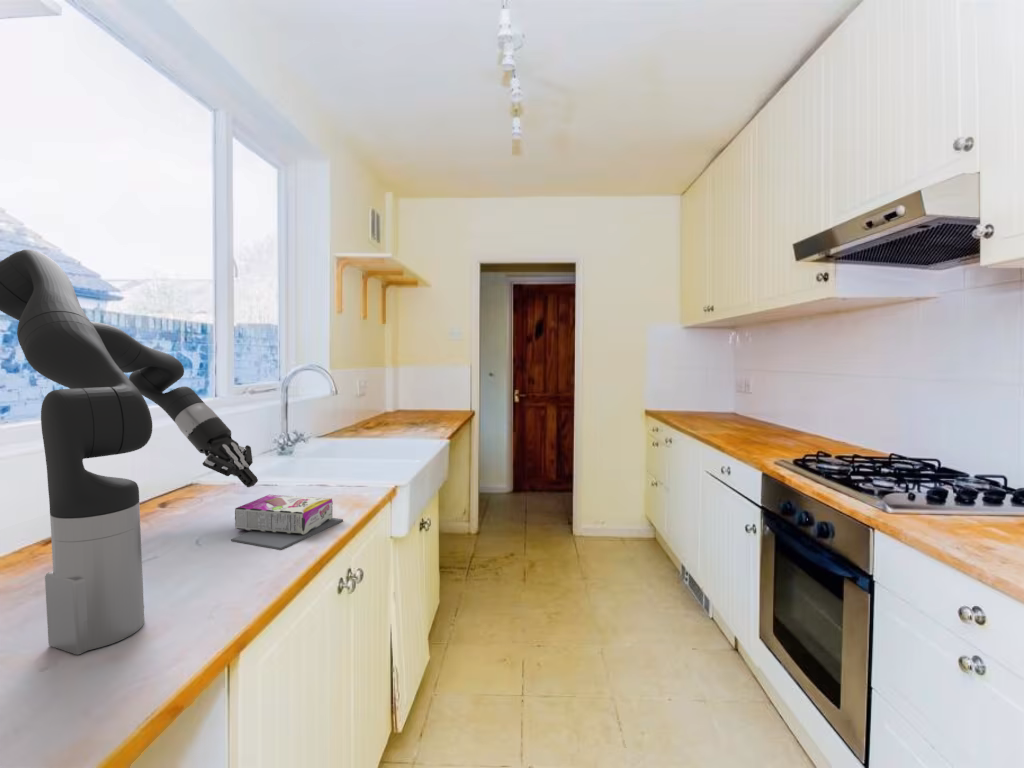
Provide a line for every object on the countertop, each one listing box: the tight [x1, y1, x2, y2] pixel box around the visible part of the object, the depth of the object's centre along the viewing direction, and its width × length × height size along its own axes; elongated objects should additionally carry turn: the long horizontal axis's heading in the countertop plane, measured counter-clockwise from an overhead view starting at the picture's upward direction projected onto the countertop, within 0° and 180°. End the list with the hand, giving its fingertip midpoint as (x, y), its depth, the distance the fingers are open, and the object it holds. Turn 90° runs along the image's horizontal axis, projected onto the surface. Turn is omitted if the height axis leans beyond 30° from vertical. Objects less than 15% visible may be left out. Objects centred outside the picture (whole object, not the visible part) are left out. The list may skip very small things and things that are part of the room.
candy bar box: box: [234, 494, 333, 535], centre depth 111 cm, size 11×5×16 cm
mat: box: [230, 517, 344, 551], centre depth 108 cm, size 18×13×1 cm
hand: (253, 484), depth 112 cm, fingers closed
